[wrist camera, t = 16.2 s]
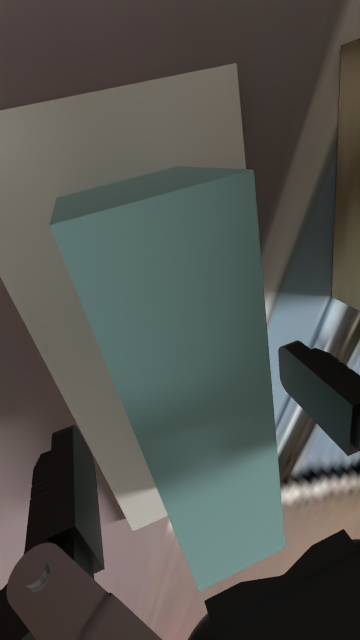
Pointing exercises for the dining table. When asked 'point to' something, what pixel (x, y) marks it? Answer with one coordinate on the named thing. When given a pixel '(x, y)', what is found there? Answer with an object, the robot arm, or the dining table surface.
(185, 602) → the dining table surface
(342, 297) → the oak cubby shelf
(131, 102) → the stone board
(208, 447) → the teal block
